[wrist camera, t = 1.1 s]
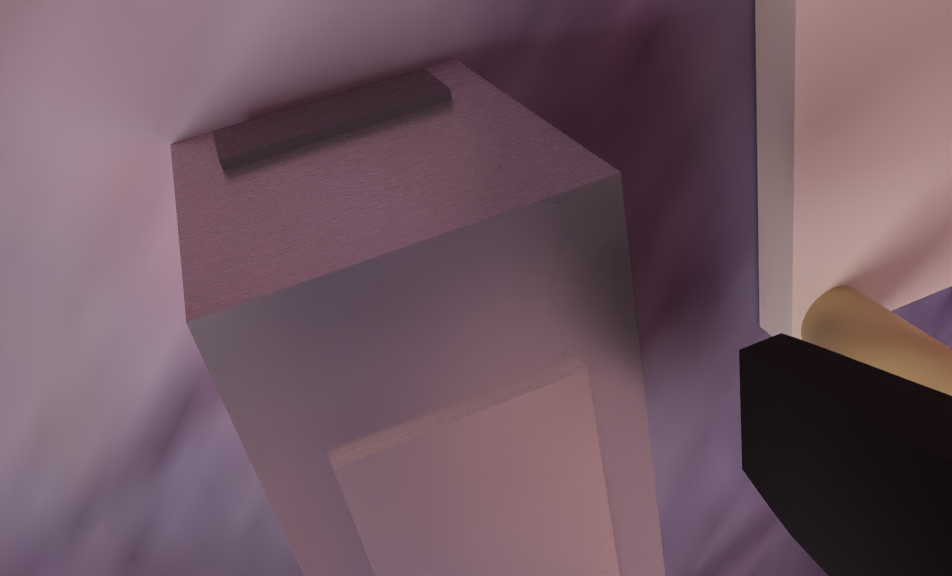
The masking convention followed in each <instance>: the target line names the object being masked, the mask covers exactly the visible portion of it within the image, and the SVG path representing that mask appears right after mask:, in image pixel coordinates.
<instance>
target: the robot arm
mask: <svg viewBox="0 0 952 576" xmlns="http://www.w3.org/2000/svg"><path fill="white" fill-rule="evenodd" d="M739 361H740V399H741V437H742V469H743V471H744V472H745V473H746V475H747V476H748V478H749V479H750V480H751V482H752V483H753V485H754V486H755V487H756V489H757V490H758V492H759V493H760V494H761V496H762V497H763V499H764V500H765V501H766V503H767V504H768V506H769V507H770V508H771V509H772V511H773V512H774V513H775V515H776V516H777V517H778V519H779V520H780V521H781V523H782V524H783V525H784V527H785V528H786V529H787V530H788V532H789V533H790V534H791V536H792V537H793V538H794V539H795V540H796V541H797V542H798V543H799V544H800V545H801V547H802V548H803V549H804V550H805V551H806V552H807V553H808V554H809V555H810V556H811V557H812V558H813V559H814V561H815V562H816V563H817V564H818V565H819V566H820V567H821V568H822V569H823V570H824V571H825V572H826V573H827V574H828V575H829V576H952V396H951V395H948V394H946V393H943V392H940V391H937V390H935V389H932V388H929V387H926V386H924V385H921V384H918V383H916V382H913V381H910V380H908V379H905V378H902V377H900V376H897V375H894V374H892V373H889V372H886V371H884V370H881V369H878V368H876V367H873V366H871V365H868V364H865V363H863V362H860V361H857V360H855V359H852V358H849V357H847V356H844V355H842V354H839V353H836V352H834V351H831V350H828V349H826V348H823V347H820V346H817V345H815V344H812V343H809V342H806V341H803V340H801V339H798V338H795V337H792V336H789V335H786V334H783V333H780V334H778V335H775V336H773V337H770V338H768V339H765V340H763V341H760V342H758V343H756V344H753V345H751V346H748V347H746V348H743V349H741V350H739Z"/></svg>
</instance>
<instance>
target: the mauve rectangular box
mask: <svg viewBox="0 0 952 576" xmlns="http://www.w3.org/2000/svg"><path fill="white" fill-rule="evenodd" d="M171 155H172V167H173V178H174V189H175V200H176V211H177V223H178V234H179V245H180V256H181V268H182V279H183V290H184V301H185V312H186V323H187V325H188V327H189V329H190V331H191V333H192V336H193V338H194V340H195V342H196V344H197V346H198V348H199V351H200V353H201V355H202V357H203V359H204V361H205V364H206V366H207V368H208V370H209V372H210V374H211V377H212V379H213V381H214V383H215V385H216V387H217V390H218V392H219V394H220V396H221V398H222V400H223V403H224V405H225V407H226V409H227V411H228V413H229V415H230V418H231V420H232V422H233V424H234V426H235V428H236V431H237V433H238V435H239V437H240V439H241V441H242V444H243V446H244V448H245V450H246V452H247V454H248V457H249V459H250V461H251V463H252V465H253V467H254V469H255V472H256V474H257V476H258V478H259V480H260V482H261V485H262V487H263V489H264V491H265V493H266V495H267V498H268V500H269V502H270V504H271V506H272V508H273V511H274V513H275V515H276V517H277V519H278V521H279V523H280V526H281V528H282V530H283V532H284V534H285V536H286V539H287V541H288V543H289V545H290V547H291V549H292V552H293V554H294V556H295V558H296V560H297V562H298V565H299V567H300V569H301V571H302V573H303V575H304V576H665V568H664V559H663V550H662V541H661V532H660V523H659V514H658V505H657V495H656V486H655V477H654V468H653V459H652V450H651V441H650V432H649V423H648V414H647V405H646V396H645V387H644V378H643V369H642V360H641V351H640V341H639V332H638V323H637V314H636V305H635V296H634V287H633V278H632V269H631V260H630V251H629V242H628V233H627V224H626V215H625V206H624V196H623V187H622V178H621V172H619V171H618V170H617V169H615V168H614V167H612V166H611V165H609V164H608V163H606V162H605V161H603V160H602V159H600V158H599V157H598V156H596V155H595V154H593V153H592V152H590V151H589V150H587V149H586V148H584V147H583V146H581V145H580V144H578V143H577V142H576V141H574V140H573V139H571V138H570V137H568V136H567V135H565V134H564V133H562V132H561V131H559V130H558V129H557V128H555V127H554V126H552V125H551V124H549V123H548V122H546V121H545V120H543V119H542V118H540V117H539V116H538V115H536V114H535V113H533V112H532V111H530V110H529V109H527V108H526V107H524V106H523V105H521V104H520V103H518V102H517V101H516V100H514V99H513V98H511V97H510V96H508V95H507V94H505V93H504V92H502V91H501V90H499V89H498V88H497V87H495V86H494V85H492V84H491V83H489V82H488V81H486V80H485V79H483V78H482V77H480V76H479V75H477V74H476V73H475V72H473V71H472V70H470V69H469V68H467V67H466V66H464V65H463V64H461V63H460V62H458V61H457V60H456V59H453V60H450V61H446V62H443V63H440V64H436V65H433V66H430V67H426V68H421V69H418V70H415V71H411V72H408V73H405V74H401V75H398V76H395V77H392V78H388V79H385V80H382V81H378V82H375V83H372V84H368V85H365V86H362V87H358V88H355V89H352V90H348V91H345V92H342V93H338V94H335V95H332V96H329V97H325V98H322V99H319V100H315V101H312V102H309V103H305V104H302V105H299V106H295V107H292V108H289V109H285V110H282V111H279V112H276V113H272V114H269V115H266V116H262V117H259V118H256V119H252V120H249V121H246V122H242V123H239V124H236V125H232V126H229V127H226V128H222V129H219V130H216V131H213V132H211V133H208V134H204V135H201V136H198V137H194V138H191V139H188V140H184V141H181V142H178V143H174V144H171Z"/></svg>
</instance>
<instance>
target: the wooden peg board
mask: <svg viewBox="0 0 952 576" xmlns="http://www.w3.org/2000/svg"><path fill="white" fill-rule="evenodd" d="M755 29H756V101H757V173H758V244H759V316H760V327H761V328H763V329H764V330H765V331H766V332H768V333H769V334H770V335H771V336H775V335H778V334H780V333H783V334H786V335H789V336H792V337H795V338H798V339H801V340H803V341H806V342H809V343H812V344H815V345H817V346H820V347H823V348H826V349H828V350H831V351H834V352H836V353H839V354H842V355H844V356H847V357H849V358H852V359H855V360H857V361H860V362H863V363H865V364H868V365H871V366H873V367H876V368H878V369H881V370H884V371H886V372H889V373H892V374H894V375H897V376H900V377H902V378H905V379H908V380H910V381H913V382H916V383H918V384H921V385H924V386H926V387H929V388H932V389H935V390H937V391H940V392H943V393H946V394H948V395H951V396H952V349H950V348H949V347H947V346H946V345H944V344H942V343H941V342H939V341H938V340H936V339H934V338H933V337H931V336H930V335H928V334H926V333H925V332H923V331H922V330H920V329H918V328H917V327H915V326H914V325H912V324H910V323H909V322H907V321H906V320H904V319H902V318H901V317H899V316H898V315H896V314H894V313H893V312H891V311H892V310H894V309H897V308H899V307H901V306H904V305H906V304H909V303H911V302H914V301H916V300H918V299H921V298H923V297H926V296H928V295H931V294H933V293H936V292H938V291H940V290H943V289H945V288H948V287H950V286H952V0H755Z"/></svg>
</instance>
